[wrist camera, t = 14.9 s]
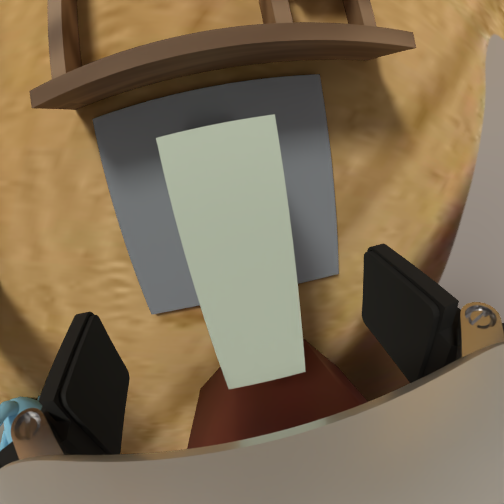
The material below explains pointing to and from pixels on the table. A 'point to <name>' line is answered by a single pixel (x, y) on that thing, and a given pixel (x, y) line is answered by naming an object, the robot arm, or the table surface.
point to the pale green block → (238, 244)
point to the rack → (205, 51)
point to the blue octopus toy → (14, 415)
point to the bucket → (271, 402)
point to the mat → (156, 193)
